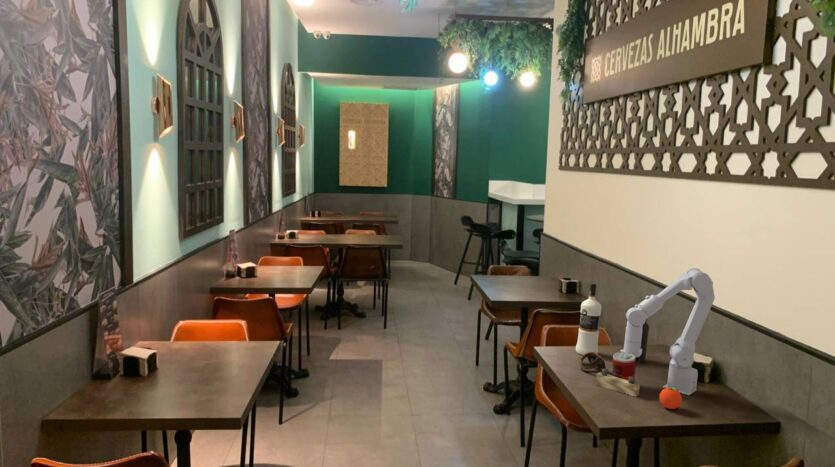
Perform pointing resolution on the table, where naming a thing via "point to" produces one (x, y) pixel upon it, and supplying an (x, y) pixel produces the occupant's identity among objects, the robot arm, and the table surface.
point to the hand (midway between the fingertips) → (629, 376)
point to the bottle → (644, 341)
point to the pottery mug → (592, 361)
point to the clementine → (670, 398)
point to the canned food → (623, 366)
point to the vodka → (589, 324)
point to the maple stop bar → (617, 383)
